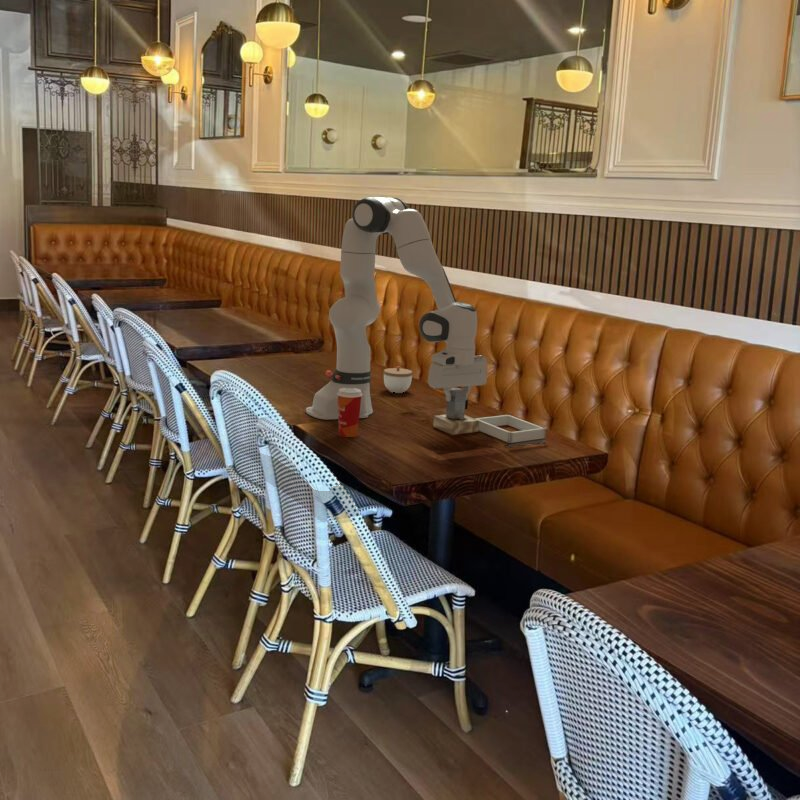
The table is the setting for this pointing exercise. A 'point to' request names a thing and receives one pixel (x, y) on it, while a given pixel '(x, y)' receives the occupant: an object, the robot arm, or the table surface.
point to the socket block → (456, 424)
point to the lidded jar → (397, 379)
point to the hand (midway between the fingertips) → (456, 400)
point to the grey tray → (527, 433)
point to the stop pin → (456, 404)
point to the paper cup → (349, 411)
